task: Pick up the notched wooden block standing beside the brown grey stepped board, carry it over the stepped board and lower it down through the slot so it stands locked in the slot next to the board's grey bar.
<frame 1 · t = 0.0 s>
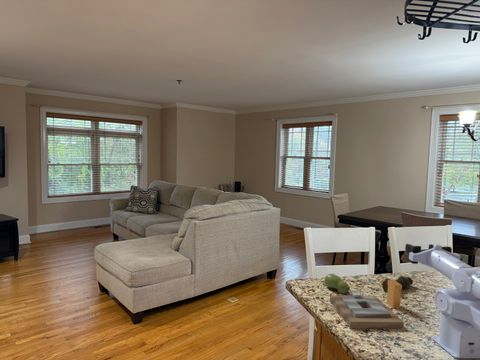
hand: (418, 247, 105), 22 cm above the countertop, tool horizontal, fingers open, 7 cm apart
pear: (336, 290, 123), on the countertop
notched wooden block: (393, 305, 111), on the countertop
brown grey stepped board: (363, 313, 104), on the countertop
bolt: (399, 290, 126), on the countertop
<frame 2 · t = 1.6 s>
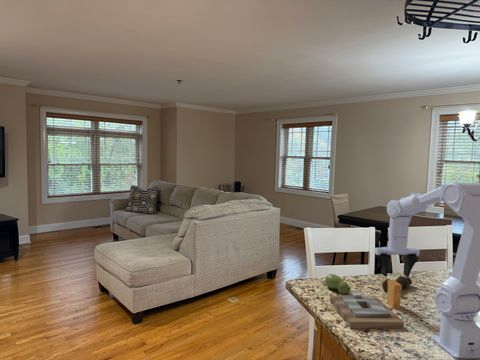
hand: (395, 275, 110), 10 cm above the countertop, tool pointing down, fingers open, 7 cm apart
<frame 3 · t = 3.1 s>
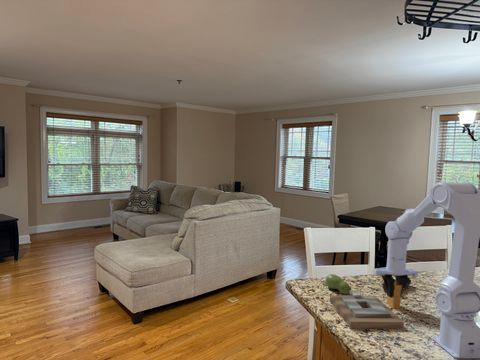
hand: (393, 296, 111), 3 cm above the countertop, tool pointing down, fingers closed on notched wooden block, 2 cm apart
notched wooden block: (393, 305, 111), on the countertop, touching gripper
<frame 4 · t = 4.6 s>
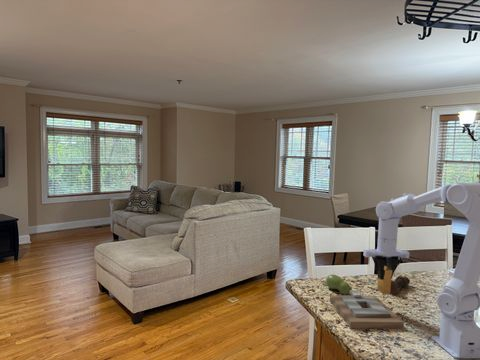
hand: (384, 278, 108), 10 cm above the countertop, tool pointing down, fingers closed on notched wooden block, 2 cm apart
notched wooden block: (383, 291, 108), point 6 cm above the countertop, touching gripper
everything else where it was.
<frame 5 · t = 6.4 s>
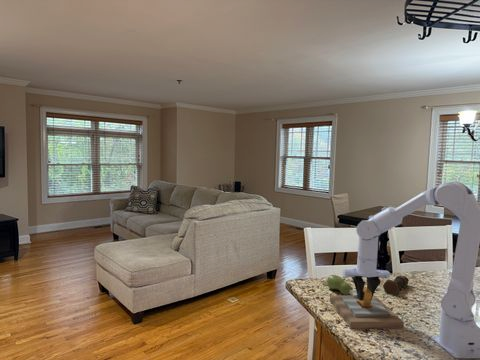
hand: (364, 299, 104), 5 cm above the countertop, tool pointing down, fingers closed on notched wooden block, 2 cm apart
notched wooden block: (363, 313, 105), resting in brown grey stepped board, touching gripper
when the fingers open (4 cm above the countertop, at t = 7.2 s): notched wooden block stays where it is, resting in brown grey stepped board.
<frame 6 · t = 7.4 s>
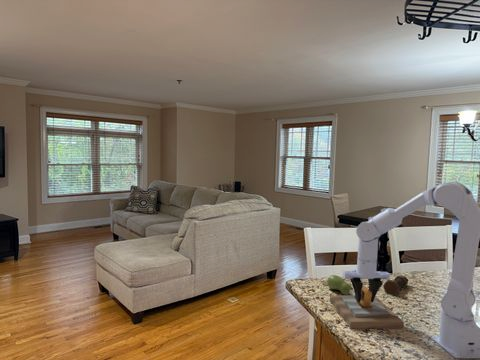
hand: (364, 300, 104), 4 cm above the countertop, tool pointing down, fingers open, 4 cm apart
notched wooden block: (363, 313, 105), resting in brown grey stepped board
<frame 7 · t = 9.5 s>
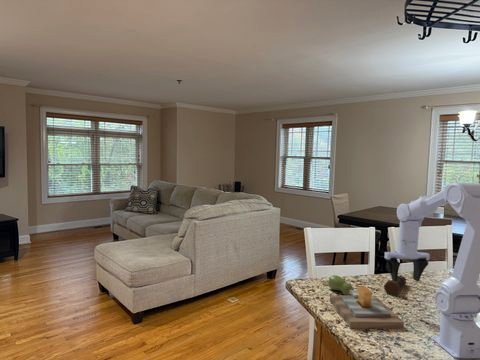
hand: (405, 280, 109), 9 cm above the countertop, tool pointing down, fingers open, 7 cm apart
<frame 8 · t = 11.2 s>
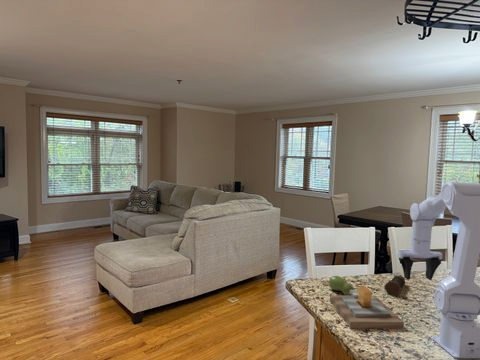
hand: (417, 278, 111), 9 cm above the countertop, tool pointing down, fingers open, 7 cm apart
at the end: notched wooden block 0.0 cm off-centre on the brown grey stepped board, point 0.0 cm above the brown grey stepped board's base; notched wooden block tilted 0°; the gripper is holding nothing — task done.
